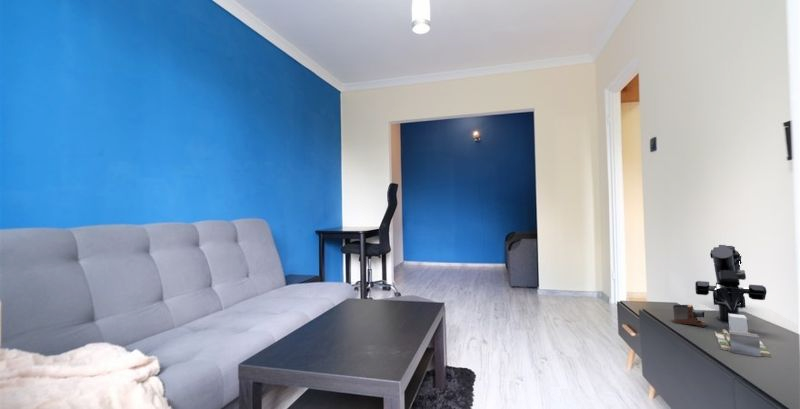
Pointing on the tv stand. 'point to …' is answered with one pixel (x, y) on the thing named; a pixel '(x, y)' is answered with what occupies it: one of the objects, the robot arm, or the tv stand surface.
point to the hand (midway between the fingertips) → (732, 310)
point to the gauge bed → (742, 343)
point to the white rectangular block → (737, 323)
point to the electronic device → (687, 315)
